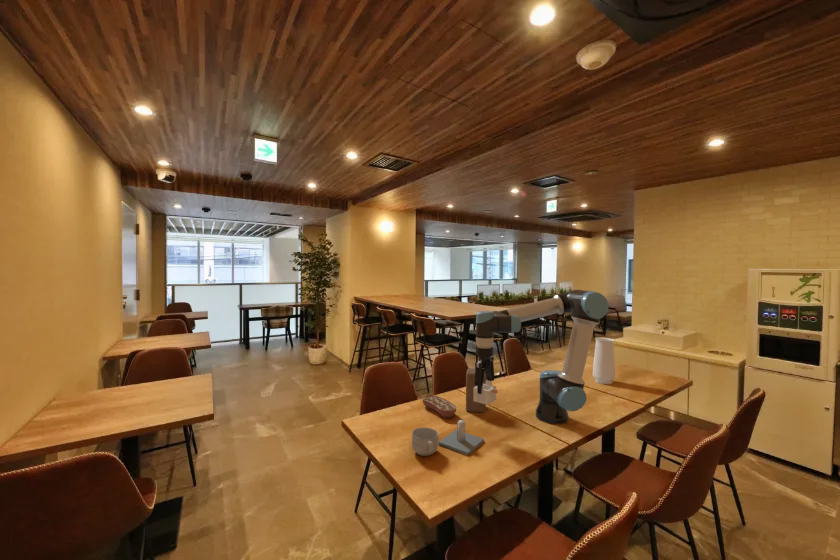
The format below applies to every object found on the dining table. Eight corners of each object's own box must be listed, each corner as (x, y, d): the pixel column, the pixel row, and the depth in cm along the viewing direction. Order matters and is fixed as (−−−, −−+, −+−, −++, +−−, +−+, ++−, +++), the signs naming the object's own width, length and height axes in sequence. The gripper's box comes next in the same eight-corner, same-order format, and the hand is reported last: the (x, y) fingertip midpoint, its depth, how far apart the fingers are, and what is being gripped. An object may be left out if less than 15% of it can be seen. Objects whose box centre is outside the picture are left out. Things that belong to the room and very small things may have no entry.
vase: (619, 385, 220) (620, 341, 219) (598, 385, 220) (599, 341, 219) (608, 378, 233) (609, 337, 232) (588, 378, 233) (589, 337, 232)
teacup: (411, 445, 145) (411, 426, 145) (436, 444, 146) (437, 425, 146) (413, 464, 131) (413, 443, 131) (441, 463, 132) (441, 442, 132)
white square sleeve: (473, 401, 154) (473, 387, 154) (481, 396, 160) (481, 383, 159) (493, 406, 148) (493, 392, 148) (500, 400, 154) (500, 387, 154)
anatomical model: (418, 406, 186) (418, 397, 186) (433, 402, 192) (433, 393, 192) (445, 422, 167) (445, 412, 167) (461, 417, 173) (461, 407, 173)
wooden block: (485, 413, 177) (485, 374, 176) (465, 411, 179) (465, 373, 178) (485, 405, 187) (486, 368, 186) (467, 404, 189) (467, 367, 188)
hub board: (483, 441, 149) (484, 420, 148) (467, 455, 137) (468, 432, 137) (455, 432, 157) (455, 412, 157) (438, 444, 146) (438, 423, 145)
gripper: (487, 341, 164) (487, 389, 165) (465, 349, 148) (465, 403, 149) (502, 343, 160) (502, 392, 160) (481, 352, 143) (481, 407, 144)
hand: (484, 397), depth 155 cm, fingers closed on white square sleeve, 7 cm apart
